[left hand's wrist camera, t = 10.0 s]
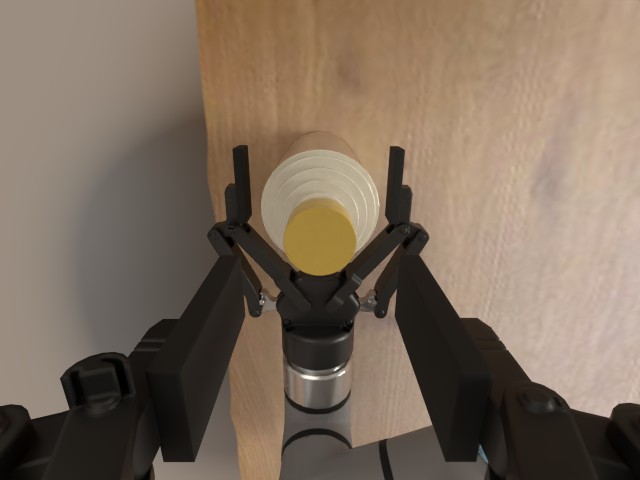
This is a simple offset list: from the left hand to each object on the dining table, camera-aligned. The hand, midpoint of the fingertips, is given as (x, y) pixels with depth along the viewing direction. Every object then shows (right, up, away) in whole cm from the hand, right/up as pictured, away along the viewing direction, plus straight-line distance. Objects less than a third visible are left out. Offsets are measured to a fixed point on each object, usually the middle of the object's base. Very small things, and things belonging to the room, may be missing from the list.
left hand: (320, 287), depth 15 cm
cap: (0, +2, +5) cm, 5 cm away
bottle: (0, +9, +24) cm, 26 cm away
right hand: (0, +10, +17) cm, 20 cm away
